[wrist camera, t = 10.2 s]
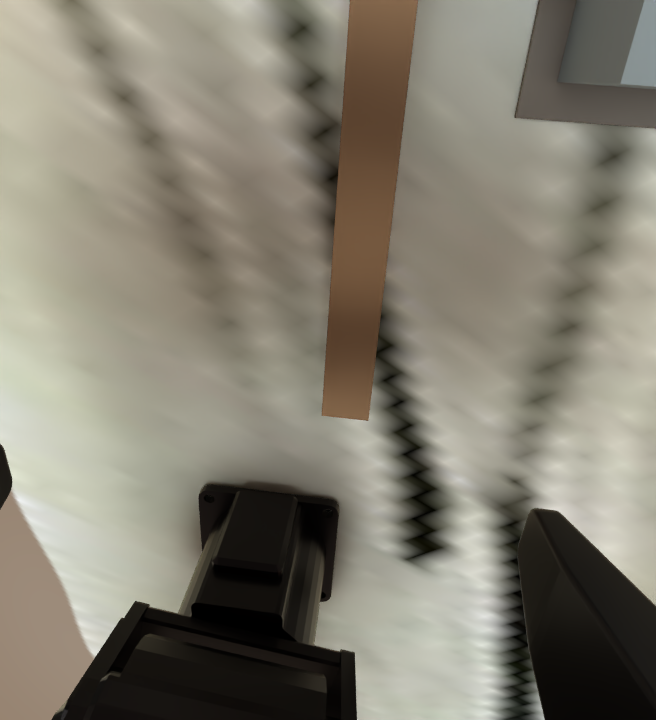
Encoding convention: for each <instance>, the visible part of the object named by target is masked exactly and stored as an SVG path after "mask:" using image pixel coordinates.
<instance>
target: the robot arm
mask: <svg viewBox="0 0 656 720" xmlns="http://www.w3.org/2000/svg"><path fill="white" fill-rule="evenodd" d="M11 487H12V476H11V472H10V469H9V465H8V461H7V458H6V454H5V450H4V448H3V446H2V445H1V444H0V509H1V507H2V506H3V504H4V502H5V500H6V499H7V497H8V495H9V493H10V491H11ZM208 495H212V496H213V497H210V496H208ZM325 509H329V510H331V511H325ZM199 511H200V526H201V541H202V554H201V557H200V559H199V562H198V564H197V567H196V569H195V572H194V574H193V577H192V579H191V582H190V584H189V587H188V589H187V592H186V594H185V597H184V599H183V602H182V604H181V607H180V609H179V612H178V613H173V612H169V611H165V610H161V609H156V608H152V607H149V606H150V605H149V604H146V603H142V602H138V601H135V602H134V604H133V605H132V607H131V608H130V610H129V611H128V613H127V615H126V616H125V618H121V619H120V621H119V622H118V624H117V625H116V627H115V628H114V630H113V631H112V633H111V634H110V636H109V637H108V639H107V640H106V642H105V644H104V645H103V647H102V648H101V650H100V651H99V653H98V654H97V656H96V657H95V659H94V660H93V662H92V663H91V665H90V666H89V668H88V669H87V671H86V672H85V674H84V675H83V677H82V678H81V680H80V682H79V683H78V685H77V686H76V688H75V689H74V691H73V692H72V694H71V695H70V697H69V699H68V700H67V701H66V702H65V703H64V704H63V705H62V707H61V708H60V709H59V710H58V711H57V712H56V713H55V715H54V716H53V718H52V720H357V710H356V680H355V653H354V652H350V651H346V650H342V649H341V650H340V652H339V651H335V650H331V649H326V648H322V647H318V646H314V641H315V634H316V627H317V620H318V612H319V605H320V602H324V601H327V600H329V599H330V597H331V590H332V580H333V569H334V559H335V549H336V538H337V528H338V517H339V505H338V503H337V502H335V501H334V500H331V499H325V498H317V497H308V496H300V495H292V494H284V493H275V492H267V491H259V490H251V489H243V488H234V487H226V486H218V485H206V486H204V487H203V488H202V489H201V492H200V494H199ZM518 564H519V572H520V581H521V589H522V597H523V606H524V614H525V623H526V631H527V639H528V646H529V652H530V657H531V662H532V667H533V671H534V675H535V679H536V684H537V688H538V692H539V697H540V701H541V705H542V709H543V714H544V718H545V720H656V606H655V605H654V604H653V603H652V602H651V601H650V600H649V599H648V598H647V597H646V596H645V595H644V594H643V593H642V592H641V591H640V590H639V589H638V588H637V587H636V586H635V585H634V584H633V583H632V582H631V581H630V580H629V579H628V578H627V577H626V576H625V575H624V574H623V573H622V572H621V571H620V570H618V569H617V568H616V567H615V566H614V565H613V564H612V563H611V562H610V561H609V560H608V559H607V558H606V557H605V556H604V555H603V554H602V553H601V552H600V551H599V550H598V549H597V548H596V547H595V546H594V545H593V544H592V543H591V542H590V541H589V540H588V539H587V538H586V537H585V536H584V535H583V534H581V533H580V532H579V531H578V530H577V529H576V528H575V527H574V526H573V525H572V524H571V523H570V522H569V521H568V520H567V519H566V518H565V517H564V516H563V515H562V514H561V513H559V512H558V511H555V510H547V509H539V508H534V509H532V510H531V511H530V512H529V514H528V517H527V520H526V523H525V526H524V529H523V532H522V535H521V539H520V542H519V546H518Z"/></svg>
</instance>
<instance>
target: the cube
mask: <svg viewBox="0 0 656 720" xmlns="http://www.w3.org/2000/svg"><path fill="white" fill-rule="evenodd" d="M557 82H563V83H576V84H590V85H603V86H616V87H630V88H643V89H656V0H577V1H576V6H575V10H574V14H573V18H572V22H571V27H570V31H569V35H568V39H567V43H566V47H565V52H564V56H563V60H562V64H561V68H560V73H559V77H558V81H557Z"/></svg>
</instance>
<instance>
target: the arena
mask: <svg viewBox="0 0 656 720" xmlns="http://www.w3.org/2000/svg"><path fill="white" fill-rule="evenodd" d="M576 1H577V0H539V3H538V8H537V13H536V17H535V22H534V27H533V32H532V37H531V42H530V46H529V51H528V56H527V61H526V66H525V70H524V75H523V80H522V85H521V90H520V95H519V99H518V104H517V109H516V114H515V118H526V119H540V120H553V121H567V122H580V123H594V124H607V125H620V126H634V127H647V128H656V89H643V88H630V87H616V86H603V85H590V84H576V83H563V82H557V81H558V77H559V73H560V68H561V64H562V60H563V56H564V52H565V47H566V43H567V39H568V35H569V31H570V27H571V22H572V18H573V14H574V10H575V6H576ZM417 4H418V0H350V8H349V23H348V38H347V52H346V67H345V82H344V96H343V111H342V126H341V140H340V155H339V169H338V184H337V199H336V213H335V228H334V243H333V257H332V272H331V287H330V301H329V316H328V331H327V345H326V360H325V374H324V389H323V404H322V416H331V417H339V418H348V419H357V420H366V421H368V418H369V410H370V401H371V393H372V384H373V376H374V367H375V359H376V351H377V342H378V334H379V325H380V317H381V308H382V300H383V291H384V283H385V274H386V266H387V258H388V249H389V241H390V232H391V224H392V215H393V207H394V198H395V190H396V181H397V173H398V165H399V156H400V148H401V139H402V131H403V122H404V114H405V105H406V97H407V88H408V80H409V72H410V63H411V55H412V46H413V38H414V29H415V21H416V12H417Z"/></svg>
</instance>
